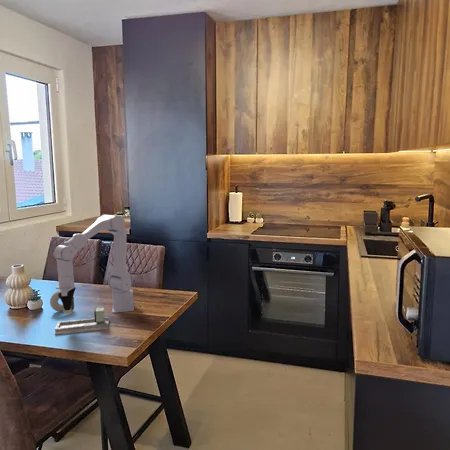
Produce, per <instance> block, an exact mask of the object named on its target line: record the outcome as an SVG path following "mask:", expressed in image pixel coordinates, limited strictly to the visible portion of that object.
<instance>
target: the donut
mask: <svg viewBox="0 0 450 450" xmlns="http://www.w3.org/2000/svg"><path fill="white" fill-rule="evenodd" d="M59 293H61V291H60V290H57V291H55V292H54V293H52V295H51V297H50V300H49V305H50V307H51V308H52V309H53V310H54V311H56V312H63V313H64V310H63V303H59V300H61V299H60V298H59V296H58V294H59Z"/></svg>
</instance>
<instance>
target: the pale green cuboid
mask: <svg viewBox="0 0 450 450" xmlns="http://www.w3.org/2000/svg"><path fill="white" fill-rule="evenodd" d="M74 309H75V298H74V296H73V297H72V301H71V309H70V310H65V309H64V307H63V310H64V311H63V315H69V314H73V312H74Z"/></svg>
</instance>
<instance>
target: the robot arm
mask: <svg viewBox="0 0 450 450" xmlns="http://www.w3.org/2000/svg"><path fill="white" fill-rule="evenodd" d="M125 222H126V221H125V218H123V217H122V216H121V215H118V214H117V215H114V214H107V213H106V214H105V213H104V214H102V215H101V216H99V217H97V218H96V220H95V221H94V223H92V224H91V225H90V226H89V227H87V228H86V229H85V230H84V231H83V232H81V233H79V232H78V233H74V234H73V235H72V237H70V239H68V240H66V241H64V242H63V244H59V245H57V246H56V247H55V248H54V252H52V255H53V257H54V258H55V261H56V266H57V268H56V269H57V280H58V285H56V286H55V290H58V291H61V293H59V294H58V296H59V298H60V299H59V300H60V301H61V304H63V307H64V309H65V310H70V309H71V301H72V297H74V294H75V292H76V285H75V277H74V276H75V275H74V263H73V259H74V258H75V256H76V254H77V252H78V251H80V250H81V249H82V248H83V247H85V246H86V245H87V243H88V240H89V239H91V238H92V237H94V236H95V235H97V234H98V233H100V232H101V231H103V230H104V231H105V230H106V231H108V232H110V234H112V235H113V269H112V270H111V271H110V273H109V278H108V281H107V284H108V287H109V288H110V291H111V294H112V296H111V297H112V311H111V313H113V314H115V313H124V312H133V311H134V310H135V308H134V306H135V301H134V290H133V289H131V288H132V285H133V284H132V282H133V281H132V279H131V274H130V272H129V271H128V270H127V235H128V234H127V228H126V225H125V224H126V223H125Z"/></svg>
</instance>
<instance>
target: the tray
mask: <svg viewBox="0 0 450 450" xmlns="http://www.w3.org/2000/svg"><path fill="white" fill-rule="evenodd" d="M109 325H110V319H109V316H105V307H102V306H101V307H96V308H95V309H94V317H92V318H84V319H74V320H65V321H58V322H57V323H56V326H55V328H54V335H65V334H74V333H85V332H93V331H101V330H102V331H104V330H109Z"/></svg>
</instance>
